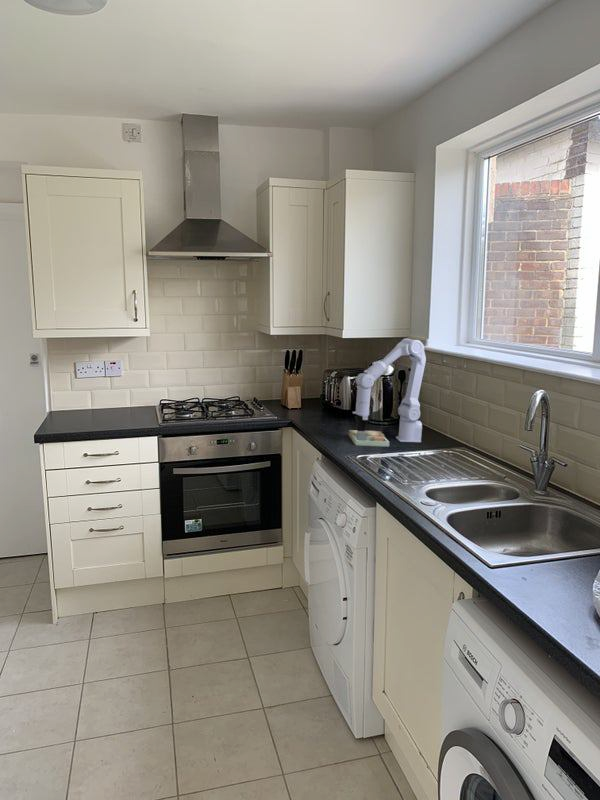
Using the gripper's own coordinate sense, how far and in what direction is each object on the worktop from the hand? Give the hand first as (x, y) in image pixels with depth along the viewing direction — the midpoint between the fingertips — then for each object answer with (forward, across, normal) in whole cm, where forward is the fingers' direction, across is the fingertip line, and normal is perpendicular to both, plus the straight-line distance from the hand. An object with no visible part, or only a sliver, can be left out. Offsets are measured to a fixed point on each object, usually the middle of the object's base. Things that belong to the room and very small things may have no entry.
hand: (360, 433), depth 259 cm
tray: (+3, +4, +4) cm, 6 cm away
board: (+3, -5, +4) cm, 7 cm away
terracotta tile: (+3, +3, +7) cm, 8 cm away
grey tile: (0, +2, 0) cm, 2 cm away
